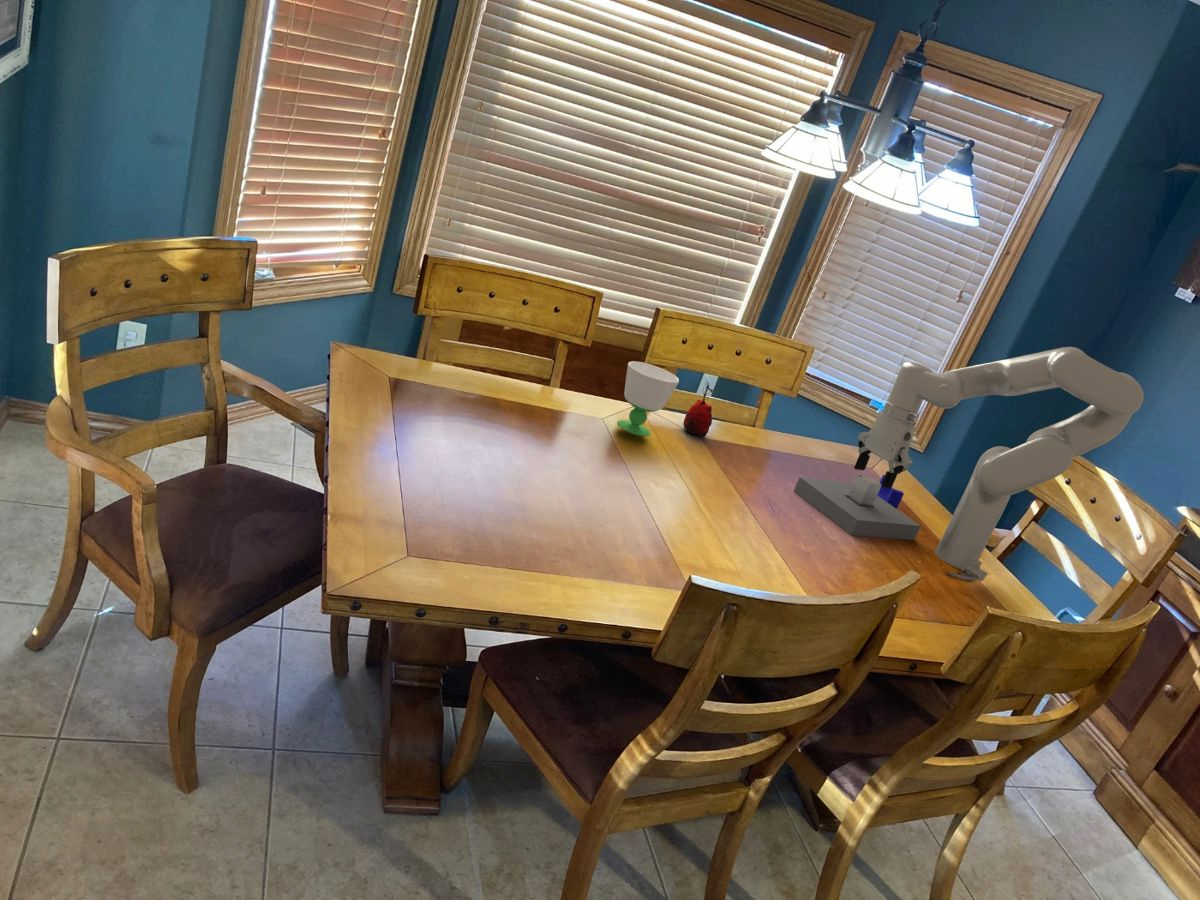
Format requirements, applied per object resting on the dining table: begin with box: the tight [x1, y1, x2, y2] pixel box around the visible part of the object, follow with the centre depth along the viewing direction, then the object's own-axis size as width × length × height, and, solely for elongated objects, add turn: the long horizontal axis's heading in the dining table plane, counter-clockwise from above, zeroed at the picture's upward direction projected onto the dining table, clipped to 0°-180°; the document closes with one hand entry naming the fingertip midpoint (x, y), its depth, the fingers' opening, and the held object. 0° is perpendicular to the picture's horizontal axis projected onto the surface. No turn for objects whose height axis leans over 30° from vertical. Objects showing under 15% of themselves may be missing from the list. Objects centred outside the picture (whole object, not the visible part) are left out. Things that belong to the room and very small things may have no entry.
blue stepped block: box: [877, 474, 905, 510], centre depth 251 cm, size 12×4×6 cm, turn 176°
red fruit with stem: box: [682, 381, 714, 437], centre depth 255 cm, size 8×7×15 cm
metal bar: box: [847, 474, 881, 507], centre depth 232 cm, size 4×4×10 cm
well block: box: [793, 476, 922, 541], centre depth 233 cm, size 22×22×4 cm
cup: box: [616, 360, 680, 437], centre depth 240 cm, size 14×14×16 cm
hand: (872, 478), depth 230 cm, fingers open, 9 cm apart
